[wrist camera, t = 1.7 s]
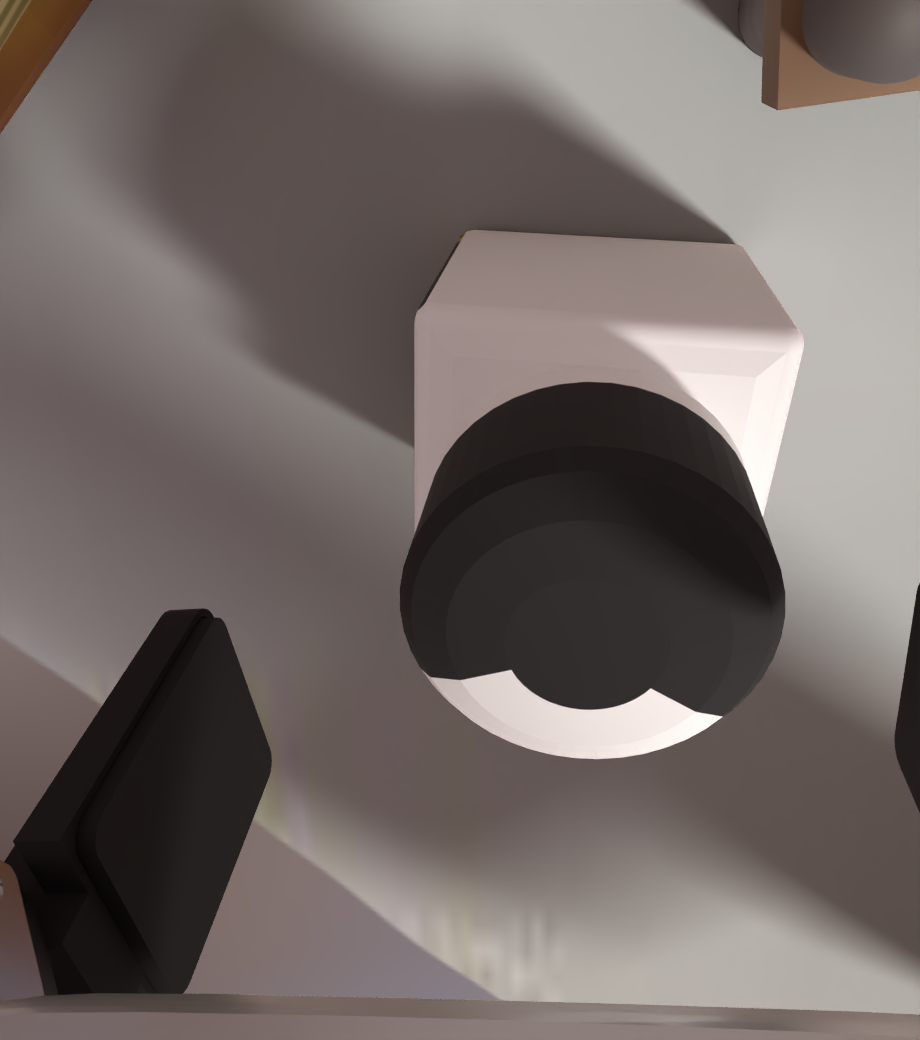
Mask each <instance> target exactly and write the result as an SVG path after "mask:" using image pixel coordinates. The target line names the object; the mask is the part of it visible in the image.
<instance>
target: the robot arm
mask: <svg viewBox="0 0 920 1040" xmlns="http://www.w3.org/2000/svg"><path fill="white" fill-rule="evenodd" d="M895 750H896V755H897V759H898V762H899V765H900V768H901V770H902V772H903V775H904V777H905V779H906V782H907V784H908V786H909V789H910V791H911V793H912V796H913V798H914V800H915V803H916V805H917V807H918V810H919V812H920V584H919V586H918V589H917V594H916V601H915V607H914V613H913V620H912V626H911V633H910V639H909V646H908V652H907V659H906V665H905V672H904V678H903V685H902V691H901V698H900V704H899V711H898V717H897V724H896V730H895ZM271 763H272V758H271V751H270V747H269V745H268V742H267V739H266V736H265V733H264V731H263V728H262V725H261V722H260V720H259V717H258V714H257V711H256V708H255V706H254V703H253V700H252V697H251V694H250V692H249V689H248V686H247V683H246V681H245V678H244V675H243V672H242V669H241V667H240V664H239V661H238V658H237V656H236V653H235V650H234V647H233V644H232V642H231V639H230V636H229V633H228V630H227V628H226V625H225V623H224V621H223V620H222V619H220V618H214V617H213V615H212V613H211V612H210V611H209V610H207V609H186V610H170V611H167V612H165V613H164V614H163V615H162V616H161V618H160V619H159V621H158V622H157V624H156V625H155V627H154V628H153V630H152V631H151V633H150V634H149V636H148V637H147V639H146V640H145V642H144V643H143V645H142V646H141V648H140V649H139V651H138V652H137V654H136V655H135V657H134V658H133V660H132V662H131V663H130V665H129V666H128V668H127V669H126V671H125V672H124V674H123V675H122V677H121V678H120V680H119V681H118V683H117V684H116V686H115V687H114V689H113V690H112V692H111V693H110V695H109V696H108V698H107V699H106V701H105V703H104V704H103V706H102V707H101V709H100V710H99V712H98V713H97V715H96V716H95V718H94V719H93V721H92V722H91V724H90V725H89V727H88V728H87V730H86V731H85V733H84V734H83V736H82V737H81V739H80V740H79V742H78V744H77V745H76V747H75V748H74V750H73V751H72V753H71V754H70V756H69V757H68V759H67V760H66V762H65V763H64V765H63V766H62V768H61V769H60V771H59V772H58V774H57V775H56V777H55V778H54V780H53V781H52V783H51V784H50V786H49V788H48V789H47V791H46V792H45V794H44V795H43V797H42V798H41V800H40V801H39V803H38V804H37V806H36V807H35V809H34V810H33V812H32V813H31V815H30V816H29V818H28V819H27V821H26V822H25V824H24V826H23V827H22V829H21V830H20V832H19V833H18V835H17V836H16V838H15V839H14V841H13V842H14V844H15V846H14V848H13V849H12V851H11V852H10V854H9V856H8V857H7V858H6V860H5V861H4V862H3V861H1V860H0V1040H920V1015H913V1014H893V1013H872V1012H850V1011H819V1010H789V1009H758V1008H728V1007H697V1006H667V1005H636V1004H601V1003H565V1002H530V1001H494V1000H456V999H417V998H378V997H375V998H374V997H332V996H327V997H326V996H287V995H240V994H183V993H184V991H185V990H186V989H187V987H188V985H189V983H190V981H191V978H192V975H193V973H194V970H195V968H196V965H197V963H198V960H199V957H200V955H201V952H202V949H203V947H204V944H205V942H206V939H207V937H208V934H209V931H210V929H211V926H212V924H213V921H214V918H215V916H216V913H217V911H218V908H219V905H220V903H221V900H222V898H223V895H224V892H225V890H226V887H227V884H228V882H229V879H230V877H231V874H232V872H233V869H234V867H235V864H236V861H237V859H238V856H239V853H240V851H241V848H242V846H243V843H244V840H245V838H246V835H247V833H248V830H249V827H250V825H251V822H252V820H253V817H254V815H255V812H256V809H257V807H258V804H259V802H260V799H261V796H262V794H263V791H264V789H265V786H266V784H267V781H268V778H269V775H270V772H271Z"/></svg>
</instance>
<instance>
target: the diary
mask: <svg viewBox="0 0 920 1040" xmlns="http://www.w3.org/2000/svg"><path fill="white" fill-rule="evenodd" d="M91 1H92V0H0V133H1V132H2V130H3V129H4V128H5V126H6V125H7V123H8V122H9V120H10V119H11V117H12V116H13V114H14V113H15V112H16V110H17V109H18V107H19V106H20V104H21V103H22V101H23V100H24V98H25V97H26V96H27V94H28V93H29V91H30V90H31V88H32V87H33V85H34V84H35V82H36V81H37V80H38V78H39V77H40V75H41V74H42V72H43V71H44V69H45V68H46V67H47V65H48V64H49V62H50V61H51V59H52V58H53V56H54V55H55V53H56V52H57V51H58V49H59V48H60V46H61V45H62V43H63V42H64V40H65V39H66V37H67V36H68V35H69V33H70V32H71V30H72V29H73V27H74V26H75V24H76V23H77V21H78V20H79V19H80V17H81V16H82V14H83V13H84V11H85V10H86V8H87V7H88V5H89V4H90V3H91Z"/></svg>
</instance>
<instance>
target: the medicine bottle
mask: <svg viewBox="0 0 920 1040" xmlns="http://www.w3.org/2000/svg"><path fill="white" fill-rule="evenodd" d="M803 348H804V342H803V336H802V334H801V333H800V331H799V330H798V328H797V327H796V325H795V324H794V322H793V321H792V319H791V318H790V316H789V315H788V313H787V312H786V310H785V309H784V307H783V306H782V304H781V303H780V301H779V300H778V298H777V297H776V295H775V294H774V292H773V291H772V289H771V288H770V286H769V285H768V283H767V282H766V280H765V279H764V277H763V276H762V274H761V273H760V271H759V270H758V268H757V267H756V266H755V264H754V263H753V261H752V260H751V258H750V257H749V255H748V254H747V252H746V251H745V250H744V248H743V247H741V246H738V245H735V244H720V243H702V242H684V241H666V240H648V239H630V238H612V237H594V236H576V235H558V234H540V233H522V232H504V231H486V230H471V231H466V232H465V233H464V234H463V235H462V236H461V237H460V239H459V241H458V242H457V244H456V246H455V247H454V249H453V251H452V253H451V254H450V256H449V258H448V259H447V261H446V263H445V264H444V266H443V268H442V270H441V271H440V273H439V275H438V276H437V278H436V280H435V282H434V283H433V285H432V287H431V288H430V290H429V292H428V293H427V295H426V297H425V299H424V300H423V302H422V304H421V305H420V307H419V309H418V311H417V313H416V317H415V320H414V465H415V535H414V538H413V541H412V544H411V547H410V550H409V552H408V555H407V558H406V561H405V564H404V567H403V573H402V579H401V586H400V611H401V617H402V622H403V628H404V632H405V635H406V638H407V640H408V643H409V646H410V649H411V651H412V653H413V655H414V657H415V659H416V661H417V662H418V664H419V666H420V668H421V670H422V671H423V672H424V674H425V675H426V676H427V678H428V679H429V681H430V682H431V683H432V685H433V686H434V687H435V688H436V689H437V690H438V691H439V692H440V693H441V694H442V695H443V696H444V697H445V698H446V699H447V701H448V702H450V703H451V704H452V705H453V706H454V707H456V708H457V709H458V710H459V711H461V712H462V713H463V714H464V715H465V716H467V717H468V718H469V719H470V720H472V721H473V722H475V723H476V724H478V725H479V726H481V727H482V728H484V729H486V730H487V731H489V732H490V733H492V734H494V735H497V736H499V737H501V738H503V739H505V740H507V741H509V742H511V743H514V744H517V745H520V746H522V747H525V748H528V749H531V750H535V751H539V752H543V753H547V754H551V755H557V756H564V757H571V758H584V759H607V758H622V757H628V756H634V755H640V754H645V753H649V752H652V751H656V750H660V749H663V748H666V747H669V746H671V745H674V744H676V743H679V742H681V741H684V740H686V739H688V738H690V737H692V736H694V735H696V734H697V733H699V732H701V731H703V730H705V729H706V728H708V727H709V726H711V725H712V724H713V723H715V722H716V721H718V720H719V719H720V718H722V717H723V716H725V715H726V714H727V713H729V712H730V711H732V710H733V709H734V708H735V707H736V706H737V705H738V704H739V703H740V702H741V701H742V700H743V699H744V698H745V697H746V696H748V694H749V693H750V692H751V691H752V689H753V688H754V687H755V686H756V684H757V683H758V682H759V681H760V679H761V678H762V677H763V675H764V673H765V672H766V670H767V668H768V666H769V665H770V663H771V661H772V659H773V657H774V655H775V652H776V649H777V647H778V644H779V641H780V639H781V635H782V629H783V624H784V618H785V590H784V584H783V578H782V573H781V569H780V566H779V563H778V560H777V557H776V554H775V551H774V549H773V546H772V543H771V540H770V537H769V534H768V531H767V528H766V525H765V523H764V520H763V515H764V510H765V506H766V502H767V498H768V494H769V490H770V486H771V481H772V477H773V473H774V469H775V465H776V461H777V456H778V452H779V448H780V444H781V440H782V436H783V432H784V427H785V423H786V419H787V415H788V411H789V407H790V402H791V398H792V394H793V390H794V386H795V382H796V378H797V373H798V369H799V365H800V361H801V357H802V353H803Z"/></svg>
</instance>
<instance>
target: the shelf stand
mask: <svg viewBox="0 0 920 1040" xmlns="http://www.w3.org/2000/svg"><path fill="white" fill-rule="evenodd" d="M738 24H739V29H740V33H741V36H742V38H743V40H744V42H745V43H746V45H747V46H748V47H749V48H750V49H751V50H752V51H753V52H754V53H755V54H757V55H759V56H760V57H763V66H762V103H764V104H766V105H768V106H770V107H772V108H774V109H776V110H782V109H789V108H796V107H804V106H811V105H818V104H825V103H832V102H839V101H846V100H854V99H861V98H868V97H875V96H882V95H889V94H896V93H904V92H911V91H918V90H920V0H740V3H739V8H738Z"/></svg>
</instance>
